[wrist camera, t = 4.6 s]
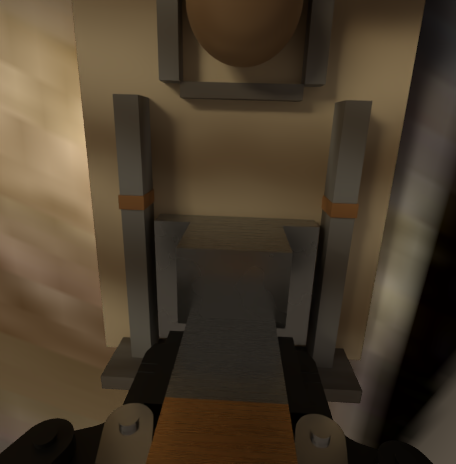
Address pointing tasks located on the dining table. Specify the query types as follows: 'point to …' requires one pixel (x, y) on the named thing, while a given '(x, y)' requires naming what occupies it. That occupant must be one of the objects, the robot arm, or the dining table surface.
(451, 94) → the dining table surface
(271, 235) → the lever
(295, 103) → the base
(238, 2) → the walnut
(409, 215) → the dining table surface
